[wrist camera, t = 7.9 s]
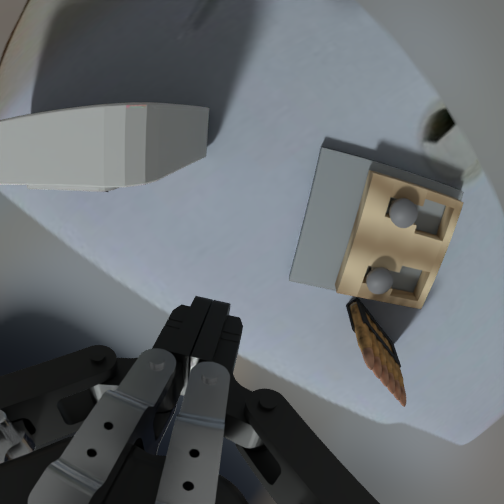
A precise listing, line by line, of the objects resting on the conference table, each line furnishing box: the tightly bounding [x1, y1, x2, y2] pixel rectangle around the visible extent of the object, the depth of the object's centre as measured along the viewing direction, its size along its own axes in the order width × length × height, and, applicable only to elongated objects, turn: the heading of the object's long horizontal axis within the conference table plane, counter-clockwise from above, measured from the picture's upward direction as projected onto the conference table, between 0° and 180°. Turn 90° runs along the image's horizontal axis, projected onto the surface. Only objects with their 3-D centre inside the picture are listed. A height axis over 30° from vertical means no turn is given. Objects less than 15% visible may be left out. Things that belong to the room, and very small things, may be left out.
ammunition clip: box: [346, 298, 406, 407], centre depth 35 cm, size 11×2×12 cm, turn 42°
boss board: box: [289, 147, 464, 294], centre depth 33 cm, size 16×18×5 cm
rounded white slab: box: [0, 102, 209, 192], centre depth 27 cm, size 29×8×18 cm, turn 85°
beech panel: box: [335, 170, 463, 309], centre depth 33 cm, size 14×12×2 cm
